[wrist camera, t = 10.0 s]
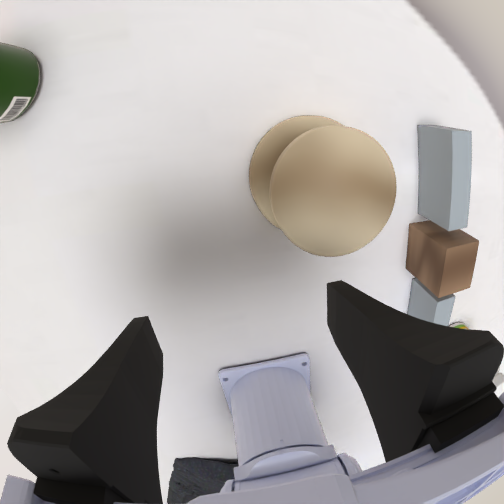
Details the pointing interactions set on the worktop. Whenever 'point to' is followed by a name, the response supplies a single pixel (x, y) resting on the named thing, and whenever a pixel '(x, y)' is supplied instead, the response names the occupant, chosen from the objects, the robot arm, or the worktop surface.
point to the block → (441, 257)
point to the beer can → (17, 81)
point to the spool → (323, 184)
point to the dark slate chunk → (197, 479)
